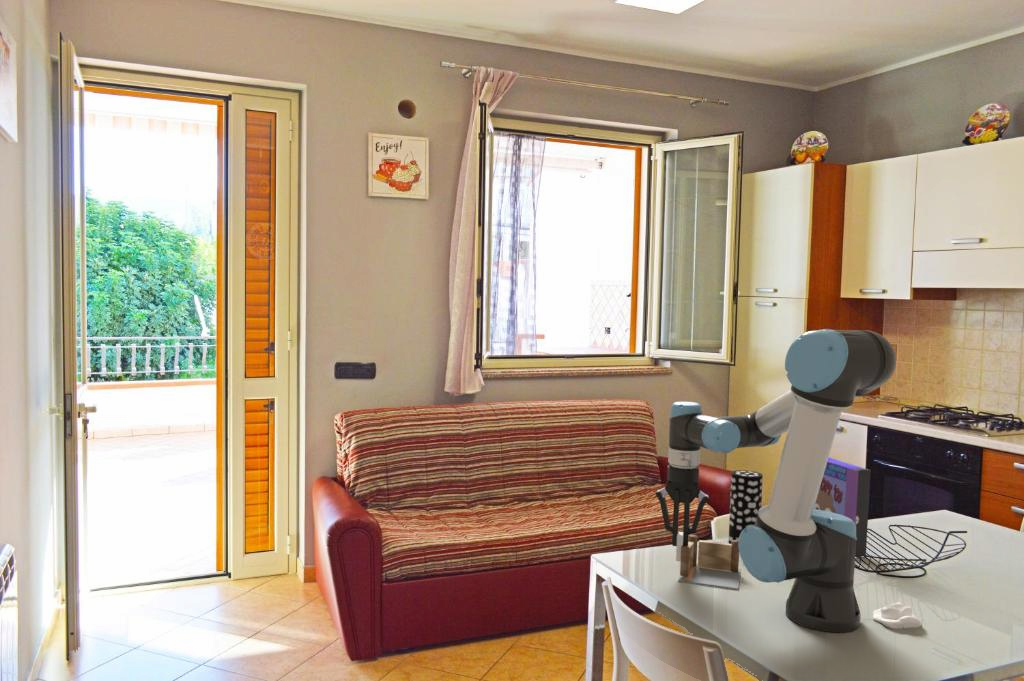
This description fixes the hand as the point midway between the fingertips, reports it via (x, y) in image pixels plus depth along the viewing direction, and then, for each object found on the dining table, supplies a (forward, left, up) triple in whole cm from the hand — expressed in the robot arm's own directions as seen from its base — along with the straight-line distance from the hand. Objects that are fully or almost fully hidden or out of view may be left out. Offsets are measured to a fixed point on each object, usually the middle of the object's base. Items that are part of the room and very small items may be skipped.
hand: (679, 559), depth 195 cm
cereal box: (+15, -54, -4) cm, 56 cm away
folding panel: (0, -2, -3) cm, 4 cm away
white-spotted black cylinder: (+21, -29, -4) cm, 36 cm away
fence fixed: (+3, -10, -4) cm, 11 cm away
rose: (-33, -36, -5) cm, 49 cm away
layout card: (-1, -8, -4) cm, 9 cm away
